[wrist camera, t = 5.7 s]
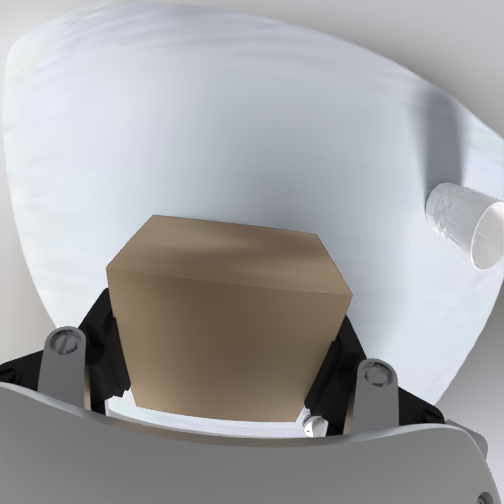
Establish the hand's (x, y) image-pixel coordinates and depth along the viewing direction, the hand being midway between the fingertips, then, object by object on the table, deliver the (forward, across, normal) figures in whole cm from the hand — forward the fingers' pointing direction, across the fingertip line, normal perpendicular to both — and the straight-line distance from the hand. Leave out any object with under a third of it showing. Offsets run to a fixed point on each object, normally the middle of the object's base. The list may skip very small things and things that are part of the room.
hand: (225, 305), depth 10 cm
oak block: (+1, 0, 0) cm, 1 cm away
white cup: (+20, -26, -3) cm, 33 cm away
